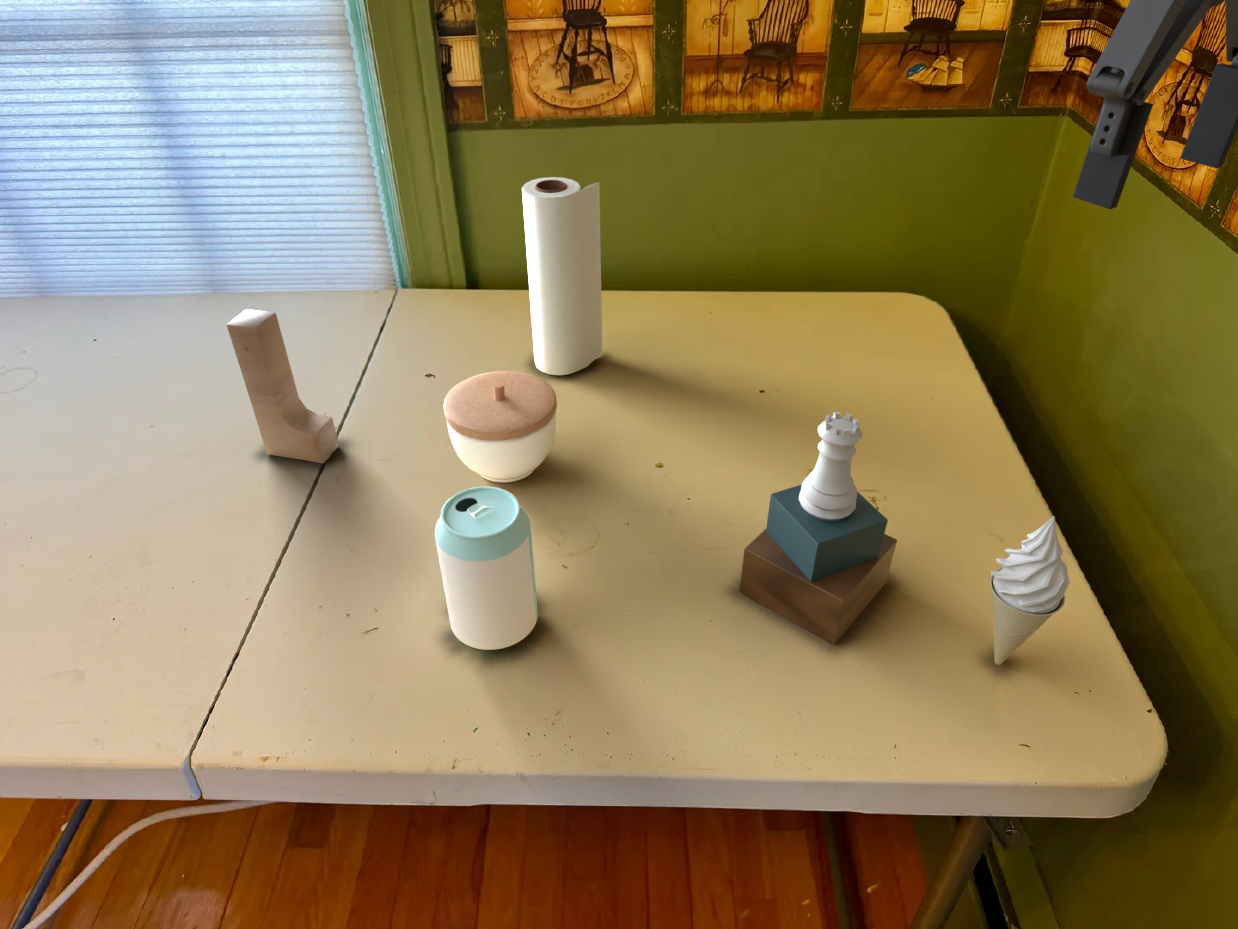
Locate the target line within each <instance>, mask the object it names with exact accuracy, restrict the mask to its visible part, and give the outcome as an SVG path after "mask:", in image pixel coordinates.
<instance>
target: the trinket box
mask: <svg viewBox="0 0 1238 929" xmlns="http://www.w3.org/2000/svg"><path fill="white" fill-rule="evenodd" d="M557 402H558V400H557V394H556V392H555V389H554V388H553V387H552V386H551V384H549V383H548V382H547V381H546V380H544V379H543V378H541V377H539V376H537V375H534V374H531V373H527V372H522V371H515V370H495V371H488V372H483V373H479V374H476V375H473V376H470V377H467V378H466V379H463V380H462V381H460V382H459V383H457V384H455V385H454V386H453V387H452V388H451V389H450V390H449V391H448V392H447V394H446V396H445V397H444V401H443V406H442V408H443V414H444V419H445V421H446V426H447V430H448V431H447V432H448V435H449V438H450V442H451V444H452V448H453V449H454V451H455V453H456V455H457V456H458V458H459V459H460V461H461V462H462V463H463V464H464V465H465V466H466V467H467V468H468V469H470V470H471V471H473V472H474V473H476V474H478V475H479V476H480V477H481V478H483V479H484V480H486V481H490V482H493V483H500V484H501V483H502V484H503V483H504V484H505V483H513V482H518V481H521V480H523V479H525V478H527V477H529V476H530V475H531V474H532V473H533V472H534V471H535V470H536V469H537V468H538V467H539V466H540V465H541V464H542V463H543V462H544V461H545V459H546V458H547V457H548V455H549V454H550V451H551V450H552V447H553V444H554V440H555V436H556V429H557V407H558V403H557Z"/></svg>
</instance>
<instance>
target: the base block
mask: <svg viewBox="0 0 1238 929" xmlns="http://www.w3.org/2000/svg"><path fill="white" fill-rule="evenodd" d="M897 543H898V539H896V538H895V537H893V536H890V535H889V534H886V533H885V534H884V538H883V542H882V546H881V550H880V554H879V557H878V558H876V559H873V560H870V561H867V562H865V563H862V564H859V565H856V566H853V567H851V568H848V569H845V570H842V571H840V572H837V573H834V574H831V575H829V576H826V577H823V578H820V579H817V580H815V581H812V582H811V581H810V580H809V579H808V578H807V577H806V576H805V575H804V573H803V572H802V571H801V570H800V569H799V568H798V567H797V565H796V564H795V563H794V562H793V561H792V560H791V559H790V558H789V556H788V555H787V554H786V553H785V552H784V551H783V550H782V549H781V547H780V546H779V545H778V544H777V543H776V542H775V541H774V540H773V538H772V537H771V536H770V535H769V534H768V533H767V532H766V528H765V529H764V530H762V531H761V533H759V534H758V535H757V536H756V537H755V538H754V539H753V540H752V541H751V542H750V543H749V544H748V545H747V546H745V547H744V548H743V558H742V564H741V565H742V567H741V575H740V582H739V584H740V585H739V591H738V592H739V593H740V594H742V595H744V596H746V597H747V598H749V599H751V600H752V601H755V602H757V603H758V604H760V605H762V606H763V607H765V608H767V609H769V610H771V611H773V612H774V613H776V614H778V615H780V616H781V617H783V618H785V619H786V620H789V621H791V622H792V623H793V624H796V625H797V626H800V627H801V628H802V629H805V630H806V631H808V632H810V633H811V634H814V635H815V636H817V637H818V638H820V639H822V640H824V641H826V642H827V643H830V644H831V645H832V646H833V645H834V646H835V645H836V643H837V642H838V641H839V639H840V638H841V637H842V636H843V635H844V634H845V633H846V631H847V630H848V629H849V628H850V627H851V625H852V624H853V623H854V622H855V621H856V619H858V617H859V616H860V615H861V614H862V612H863V611H864V610H865V609H866V608H867V606H868V605H869V604H870V603H871V601H872V600H873V599H874V598H875V597H876V596H877V594H878V593H879V592H880V591H881V590H882V588H883V587H884V586H885V585H886V584H887V581H888V577H889V573H890V571H891V566H892V563H893V559H894V555H895V551H896V547H897Z"/></svg>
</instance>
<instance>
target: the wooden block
mask: <svg viewBox="0 0 1238 929" xmlns="http://www.w3.org/2000/svg"><path fill="white" fill-rule="evenodd" d="M226 328H227V331H228V334H229V337H230V341H231V343H232V347H233V350H234V353H235V356H236V359H237V362H238V365H239V369H240V372H241V375H242V379H243V381H244V384H245V387H246V392H247V394H248V397H249V401H250V404H251V407H252V411H253V413H254V418H255V421H256V423H257V426H258V430H259V433H260V436H261V439H262V443H263V446H264V449H265V453H266V455H270V456H277V457H281V458H289V459H295V460H300V461H307V462H312V463H318V464H325V462H326V461H328V459H329V458H330V457H331V456H332V454H333V453H334V452H335V451H336V450H337V449H338V448H339V446H340V443H339V440H338V435H337V432H336V427H335V423H334V419H333V417H332V416H329V415H323V414H319V413H316V412H314V411H313V410H311V409H308V408H307V407H306V405H305V404H304V403H303V401H302V399H301V398H300V397H299V393H298V390H297V385H296V383H295V382H296V381H295V379H294V374H293V371H292V367H291V363H290V360H289V356H288V352H287V349H286V345H285V341H284V338H283V333H282V331H281V330H282V329H281V327H280V324H279V320H278V316H277V313H276V312H275V311H274V312H273V311H266V310H258V309H249V308H246V309H244V310H243V311H241V312H240V313H239V314H238V315H236V316H235V317H233V319H231V320H230V321H229V322H227V323H226Z"/></svg>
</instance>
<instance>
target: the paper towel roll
mask: <svg viewBox="0 0 1238 929" xmlns="http://www.w3.org/2000/svg"><path fill="white" fill-rule="evenodd" d="M600 194H601V192H600V182H599V181H598V182H594V183H592V184H589V185H587V186H585V187H584V188H582V189H581V185H580V184H579V182H578V181H576V180H574V179H571V178H568V177H567V178H566V177H558V176H549V177H548V176H547V177H539V178H534V179H531V180H528V181H527V182H526V183H524V184H523V186H521V195H522V206H523V207H522V209H523V222H524V234H525V235H524V237H525V250H526V265H527V276H528V278H527V279H528V291H529V303H530V304H529V305H530V319H531V329H532V330H531V332H532V345H533V346H532V347H533V360H534V364H535V367H536V369H538V370H539V371H540V372H542V373H544V374H547V375H552V376H565V375H570V374H573V373H577V372H579V371H581V370H583V369H586V368H587V367H589V365H590V364H591V363H593V362H594V361H595V360H598V359H599V358H602V357H603V356H604V355H603V354H604V353H603V306H602V305H603V303H602V302H603V301H602V254H601V253H602V252H601V250H602V247H601V245H602V244H601V197H600V196H601V195H600Z"/></svg>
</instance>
